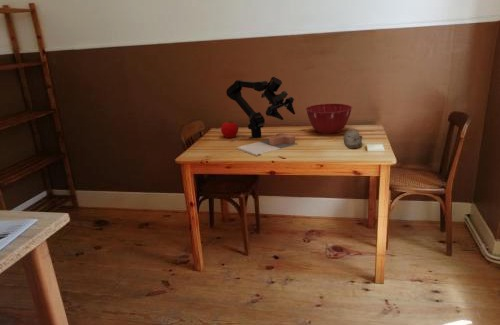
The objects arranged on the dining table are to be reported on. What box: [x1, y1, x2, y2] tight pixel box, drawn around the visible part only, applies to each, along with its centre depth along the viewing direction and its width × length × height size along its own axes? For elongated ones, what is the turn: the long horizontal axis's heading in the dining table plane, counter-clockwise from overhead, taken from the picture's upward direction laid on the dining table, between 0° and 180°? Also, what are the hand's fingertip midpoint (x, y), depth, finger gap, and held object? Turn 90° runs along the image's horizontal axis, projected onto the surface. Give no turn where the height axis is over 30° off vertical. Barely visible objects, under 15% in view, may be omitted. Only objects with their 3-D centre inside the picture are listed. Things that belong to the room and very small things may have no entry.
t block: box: [268, 132, 296, 146], centre depth 221 cm, size 12×12×4 cm
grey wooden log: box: [343, 129, 363, 149], centre depth 222 cm, size 35×5×10 cm
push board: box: [236, 139, 298, 157], centre depth 219 cm, size 20×29×1 cm
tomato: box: [220, 120, 239, 139], centre depth 246 cm, size 11×13×10 cm
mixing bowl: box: [305, 103, 353, 135], centre depth 243 cm, size 28×28×16 cm
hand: (289, 116), depth 218 cm, fingers open, 9 cm apart
